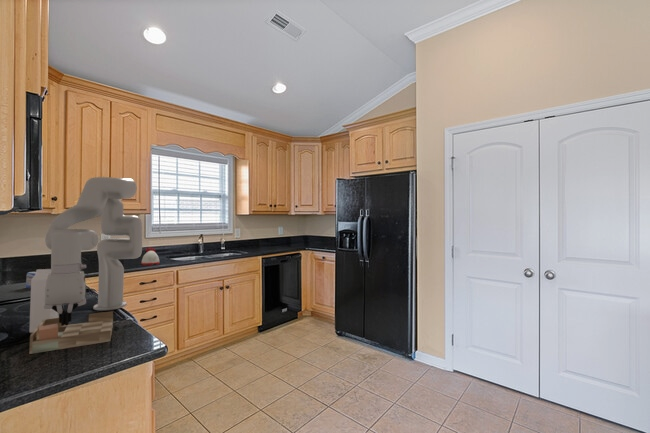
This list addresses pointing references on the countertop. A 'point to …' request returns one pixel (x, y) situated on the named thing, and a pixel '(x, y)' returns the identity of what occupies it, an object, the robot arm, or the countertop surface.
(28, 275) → the medicine box
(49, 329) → the block
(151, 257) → the kitchen timer
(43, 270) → the milk
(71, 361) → the countertop surface
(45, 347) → the wooden cubby shelf
